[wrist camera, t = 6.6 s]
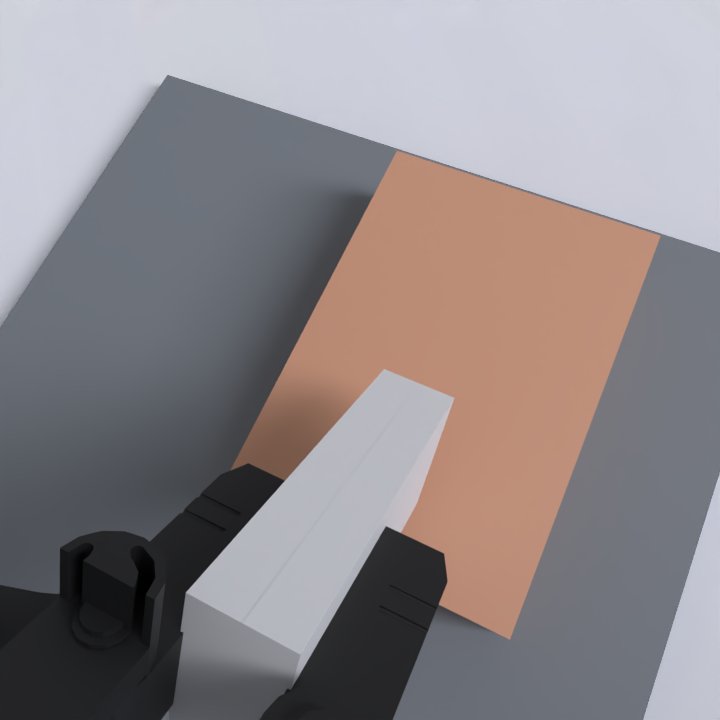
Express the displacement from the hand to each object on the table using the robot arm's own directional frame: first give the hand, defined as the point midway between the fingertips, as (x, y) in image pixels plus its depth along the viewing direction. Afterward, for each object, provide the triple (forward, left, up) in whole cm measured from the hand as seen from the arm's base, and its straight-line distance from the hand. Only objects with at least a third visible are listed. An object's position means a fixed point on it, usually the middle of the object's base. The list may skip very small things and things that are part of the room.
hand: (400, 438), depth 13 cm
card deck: (0, +3, -3) cm, 4 cm away
